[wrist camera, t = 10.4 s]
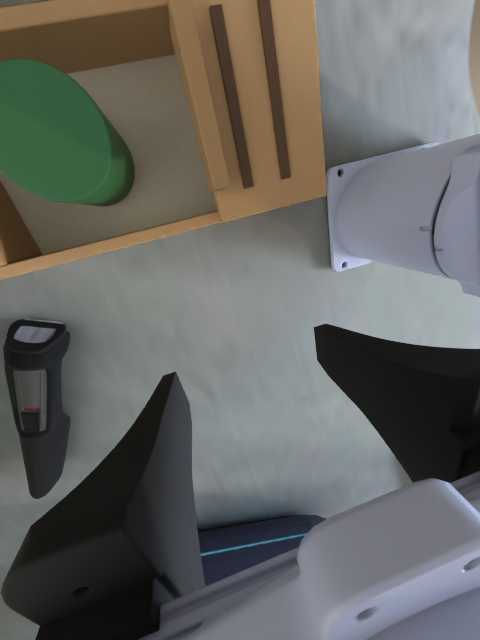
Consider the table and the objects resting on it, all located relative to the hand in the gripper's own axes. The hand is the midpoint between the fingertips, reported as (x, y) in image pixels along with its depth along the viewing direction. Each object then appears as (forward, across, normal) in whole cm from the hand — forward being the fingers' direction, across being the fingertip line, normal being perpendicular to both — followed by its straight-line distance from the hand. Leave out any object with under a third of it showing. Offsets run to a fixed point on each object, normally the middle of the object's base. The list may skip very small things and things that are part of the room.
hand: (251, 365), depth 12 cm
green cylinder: (+8, +5, -11) cm, 14 cm away
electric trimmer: (+10, +16, +4) cm, 19 cm away
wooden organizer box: (+9, +2, -11) cm, 15 cm away
